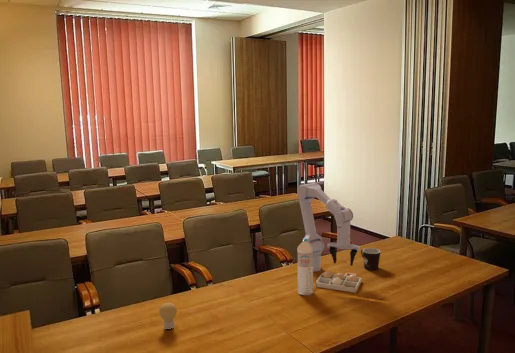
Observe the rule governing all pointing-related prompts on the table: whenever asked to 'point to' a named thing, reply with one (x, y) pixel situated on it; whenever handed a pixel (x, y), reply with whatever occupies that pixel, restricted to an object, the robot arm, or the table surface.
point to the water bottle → (305, 268)
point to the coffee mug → (371, 258)
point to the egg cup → (349, 274)
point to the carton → (349, 280)
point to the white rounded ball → (337, 281)
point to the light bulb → (168, 314)
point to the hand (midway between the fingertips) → (343, 263)
